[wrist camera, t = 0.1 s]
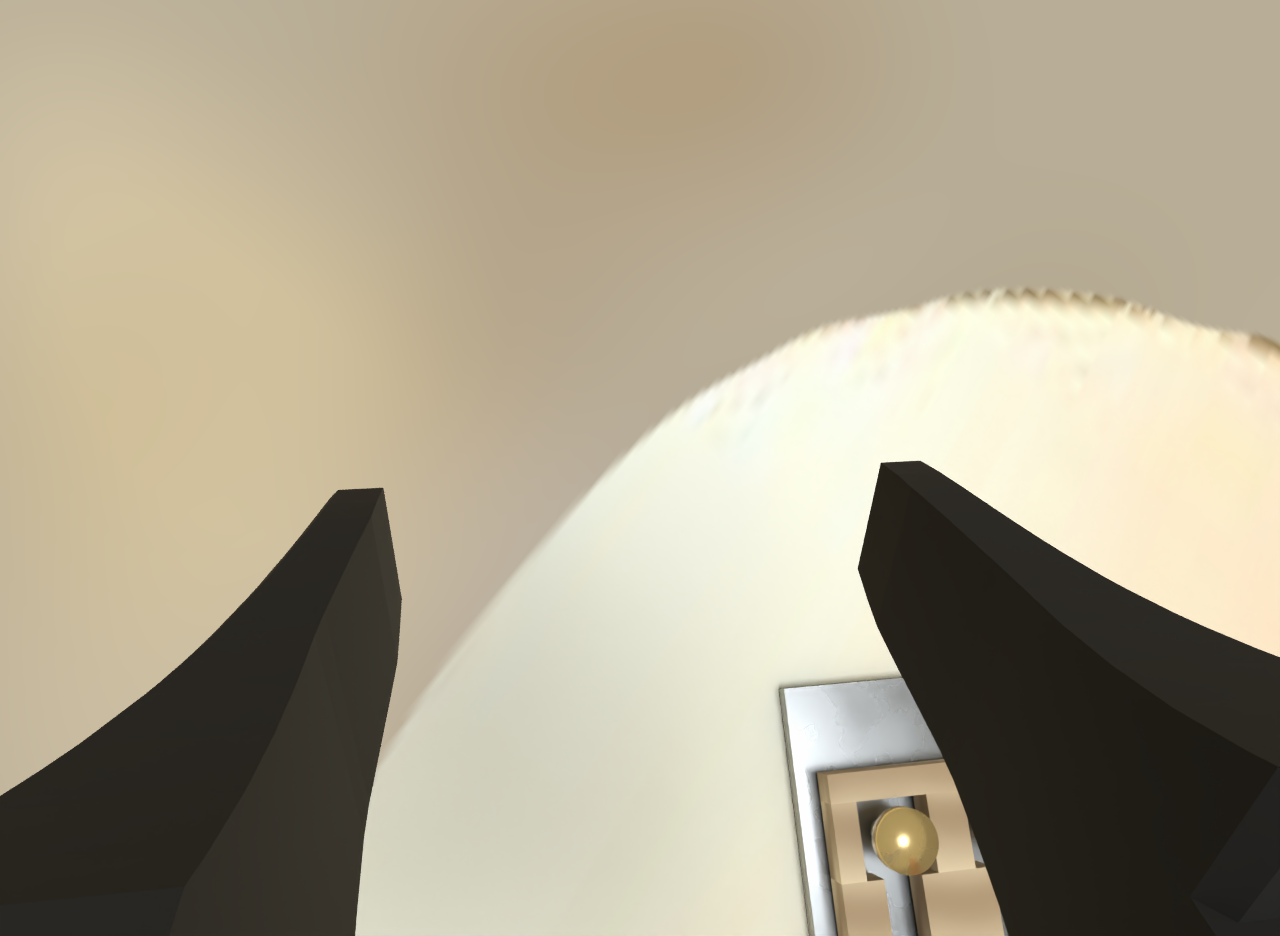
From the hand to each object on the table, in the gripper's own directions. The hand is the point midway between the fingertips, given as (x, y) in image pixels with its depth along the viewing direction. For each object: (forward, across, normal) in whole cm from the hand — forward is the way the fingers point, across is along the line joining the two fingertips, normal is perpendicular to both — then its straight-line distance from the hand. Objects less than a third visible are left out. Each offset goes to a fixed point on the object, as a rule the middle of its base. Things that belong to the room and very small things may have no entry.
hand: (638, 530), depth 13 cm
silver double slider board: (+12, -17, +32) cm, 38 cm away
